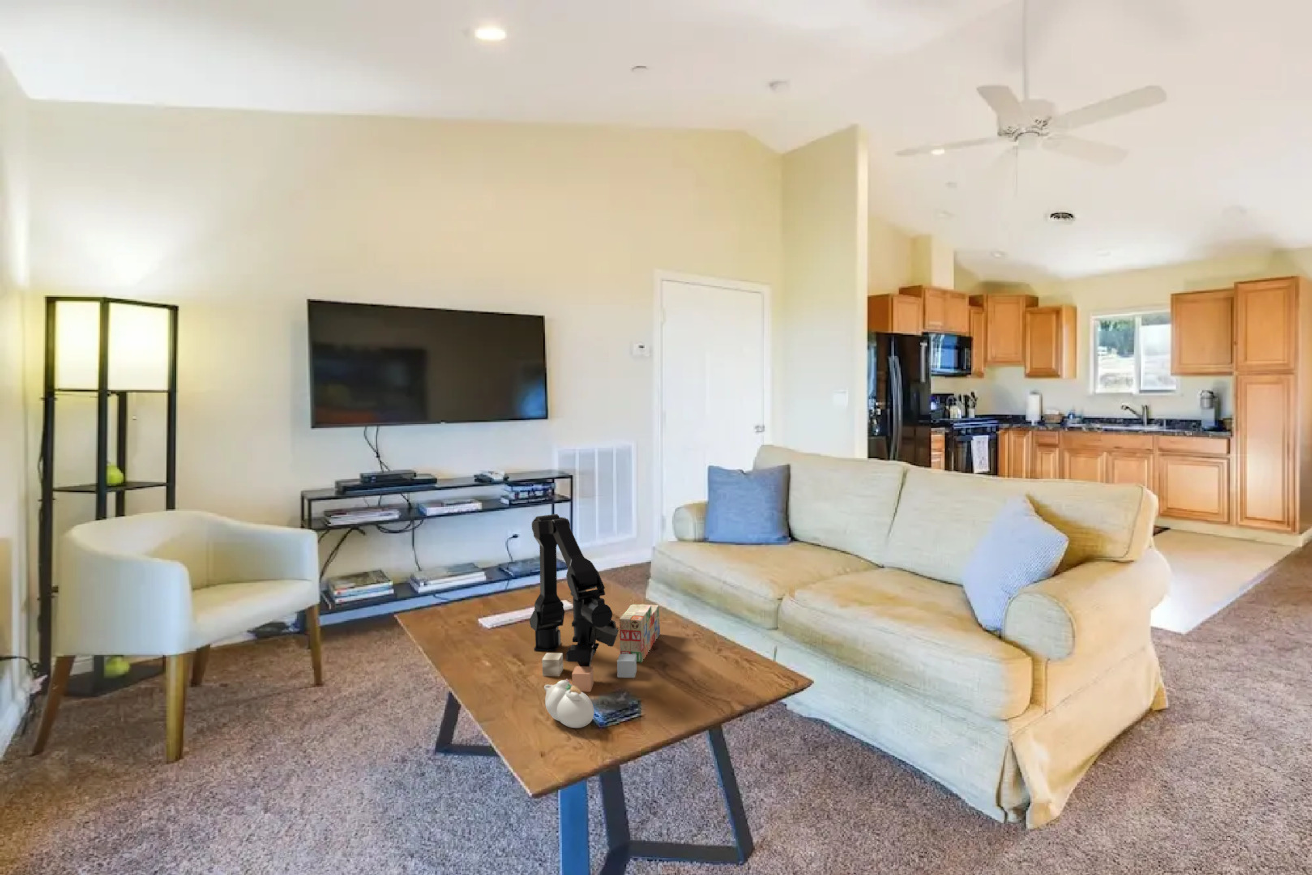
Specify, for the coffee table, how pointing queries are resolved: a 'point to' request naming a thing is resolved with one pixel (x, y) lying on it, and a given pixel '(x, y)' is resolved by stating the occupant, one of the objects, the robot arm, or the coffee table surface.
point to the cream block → (552, 664)
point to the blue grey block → (626, 665)
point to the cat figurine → (568, 704)
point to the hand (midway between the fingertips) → (586, 674)
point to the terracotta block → (583, 678)
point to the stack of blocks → (639, 630)
